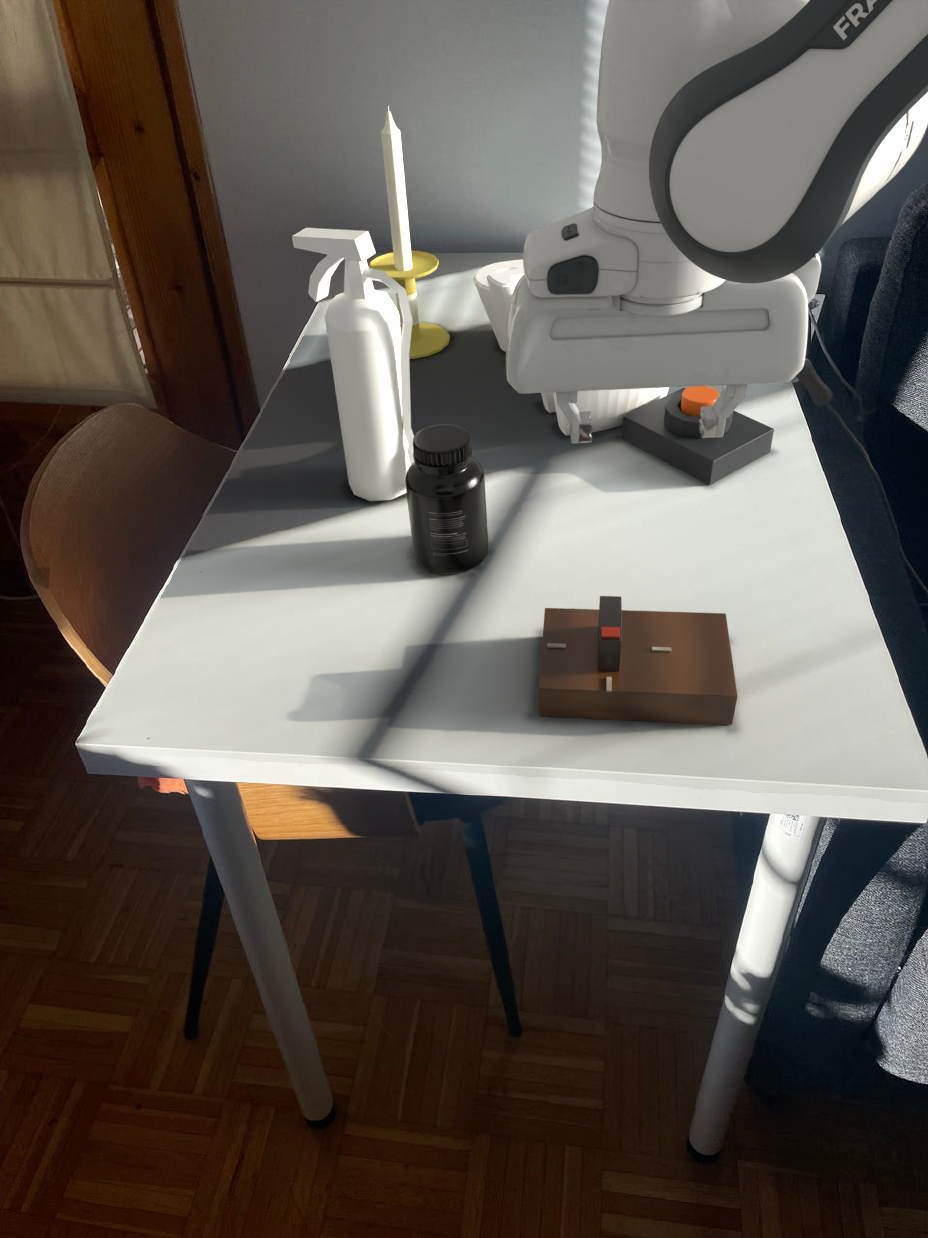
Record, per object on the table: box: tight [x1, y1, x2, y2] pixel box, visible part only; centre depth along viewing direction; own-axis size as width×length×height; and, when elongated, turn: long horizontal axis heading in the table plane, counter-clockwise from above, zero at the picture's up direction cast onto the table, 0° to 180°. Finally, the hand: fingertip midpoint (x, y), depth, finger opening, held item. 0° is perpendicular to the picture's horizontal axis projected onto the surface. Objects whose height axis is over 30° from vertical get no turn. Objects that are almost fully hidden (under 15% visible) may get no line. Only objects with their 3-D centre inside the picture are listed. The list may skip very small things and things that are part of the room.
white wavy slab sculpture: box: [472, 259, 670, 437], centre depth 108 cm, size 35×16×11 cm, turn 12°
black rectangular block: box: [598, 595, 623, 671], centre depth 71 cm, size 5×2×3 cm, turn 173°
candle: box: [368, 105, 451, 360], centre depth 112 cm, size 10×10×27 cm
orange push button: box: [681, 386, 720, 417], centre depth 95 cm, size 4×4×2 cm
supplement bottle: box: [405, 423, 489, 575], centre depth 83 cm, size 7×7×12 cm
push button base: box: [621, 387, 775, 486], centre depth 97 cm, size 12×9×4 cm
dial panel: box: [538, 607, 738, 726], centre depth 73 cm, size 14×9×3 cm, turn 84°
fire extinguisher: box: [291, 227, 415, 502], centre depth 88 cm, size 7×12×25 cm, turn 58°
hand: (645, 436), depth 70 cm, fingers open, 8 cm apart
